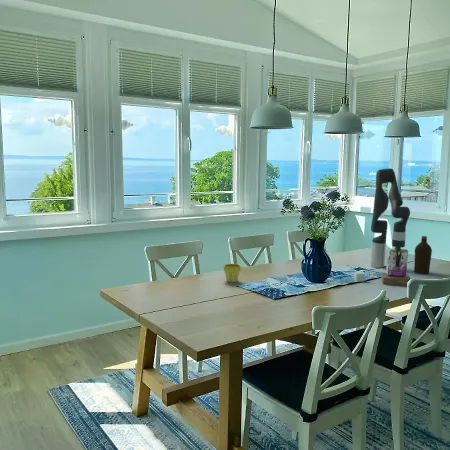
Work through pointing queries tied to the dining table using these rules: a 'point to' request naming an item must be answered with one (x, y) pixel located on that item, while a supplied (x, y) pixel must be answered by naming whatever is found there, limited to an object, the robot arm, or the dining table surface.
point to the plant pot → (232, 272)
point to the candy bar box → (391, 263)
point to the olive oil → (422, 257)
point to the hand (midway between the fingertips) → (396, 265)
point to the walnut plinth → (395, 279)
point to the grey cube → (359, 276)
